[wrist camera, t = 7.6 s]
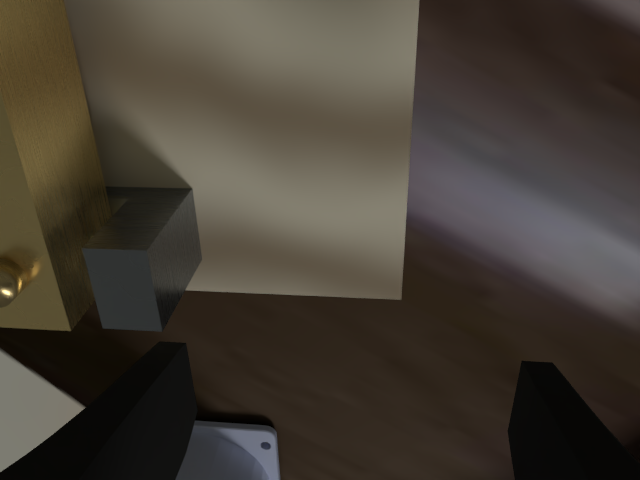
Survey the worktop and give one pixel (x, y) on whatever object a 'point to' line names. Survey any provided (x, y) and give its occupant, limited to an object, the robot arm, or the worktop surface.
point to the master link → (45, 171)
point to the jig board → (263, 131)
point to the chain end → (143, 256)
